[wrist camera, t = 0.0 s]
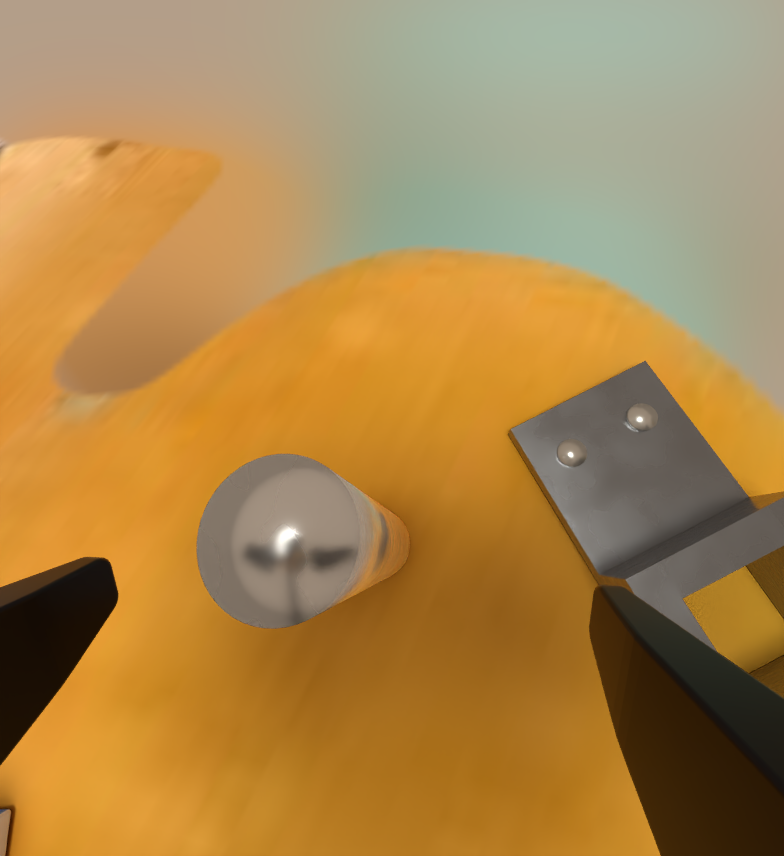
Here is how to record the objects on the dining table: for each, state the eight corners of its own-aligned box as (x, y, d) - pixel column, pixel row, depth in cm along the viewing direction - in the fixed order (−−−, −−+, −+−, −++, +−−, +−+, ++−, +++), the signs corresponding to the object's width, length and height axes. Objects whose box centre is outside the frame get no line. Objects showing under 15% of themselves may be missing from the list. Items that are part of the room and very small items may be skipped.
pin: (422, 560, 22) (389, 578, 9) (359, 591, 22) (228, 660, 8) (391, 497, 23) (319, 427, 10) (332, 527, 23) (176, 498, 10)
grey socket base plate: (1015, 874, 16) (1190, 975, 12) (833, 973, 16) (954, 1106, 12) (637, 368, 23) (675, 333, 20) (507, 434, 23) (520, 411, 19)
